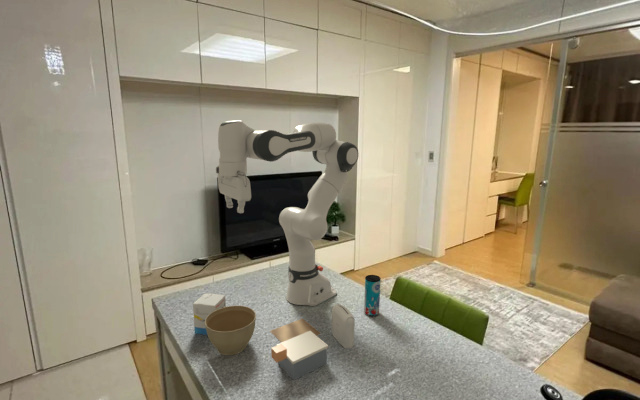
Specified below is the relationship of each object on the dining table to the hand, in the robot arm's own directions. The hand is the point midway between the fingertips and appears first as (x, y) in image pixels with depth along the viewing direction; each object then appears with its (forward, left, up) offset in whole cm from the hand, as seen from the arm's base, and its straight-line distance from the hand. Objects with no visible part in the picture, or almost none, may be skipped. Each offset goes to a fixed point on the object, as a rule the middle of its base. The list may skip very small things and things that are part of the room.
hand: (235, 210), depth 114 cm
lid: (-5, +31, -39) cm, 50 cm away
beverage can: (-46, +22, -44) cm, 67 cm away
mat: (-14, +16, -44) cm, 49 cm away
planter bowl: (+7, +10, -44) cm, 46 cm away
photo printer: (-25, +29, -44) cm, 58 cm away
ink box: (+9, -5, -44) cm, 46 cm away
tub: (-7, +31, -44) cm, 54 cm away
